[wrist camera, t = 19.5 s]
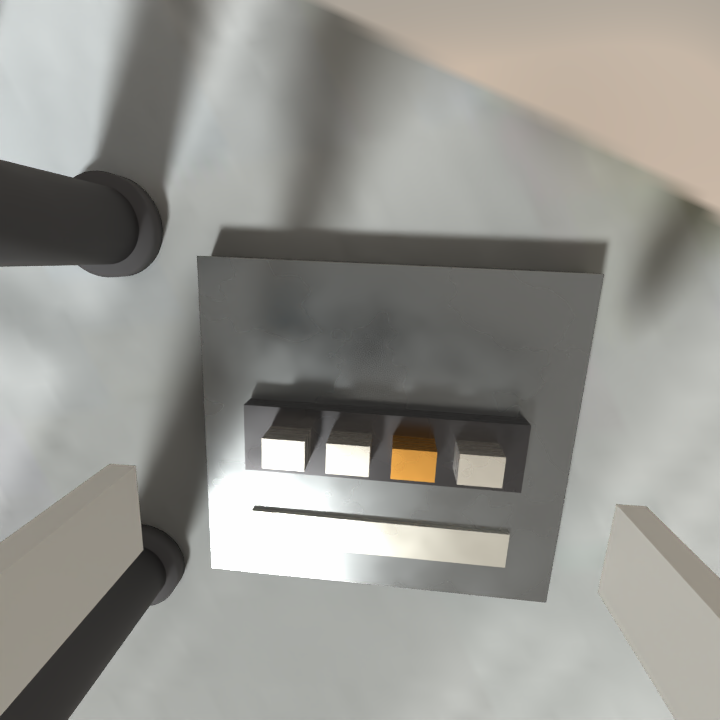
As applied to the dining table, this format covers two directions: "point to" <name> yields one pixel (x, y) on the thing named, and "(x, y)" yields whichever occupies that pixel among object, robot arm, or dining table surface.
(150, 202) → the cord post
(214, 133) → the dining table surface
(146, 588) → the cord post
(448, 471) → the breaker panel
